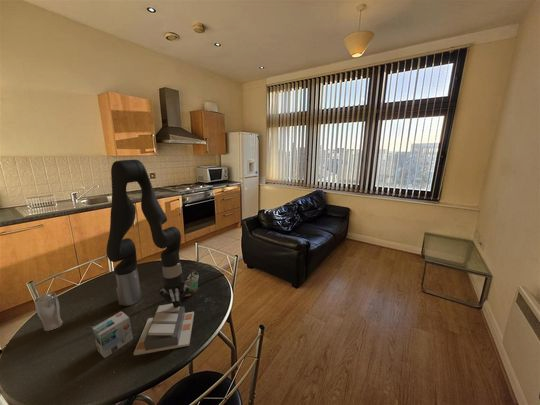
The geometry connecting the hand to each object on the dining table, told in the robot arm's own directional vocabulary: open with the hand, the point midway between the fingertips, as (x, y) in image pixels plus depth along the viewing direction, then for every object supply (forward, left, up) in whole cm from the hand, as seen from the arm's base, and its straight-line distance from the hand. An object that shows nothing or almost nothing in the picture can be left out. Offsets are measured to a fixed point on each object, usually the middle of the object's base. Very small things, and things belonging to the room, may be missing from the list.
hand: (177, 306), depth 99 cm
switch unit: (-4, -6, -7) cm, 10 cm away
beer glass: (-54, +8, -8) cm, 55 cm away
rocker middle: (-4, -6, -1) cm, 7 cm away
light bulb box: (-23, -8, -8) cm, 25 cm away
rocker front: (-4, -12, -1) cm, 12 cm away
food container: (+4, +20, -8) cm, 22 cm away
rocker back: (-4, 0, -1) cm, 4 cm away
